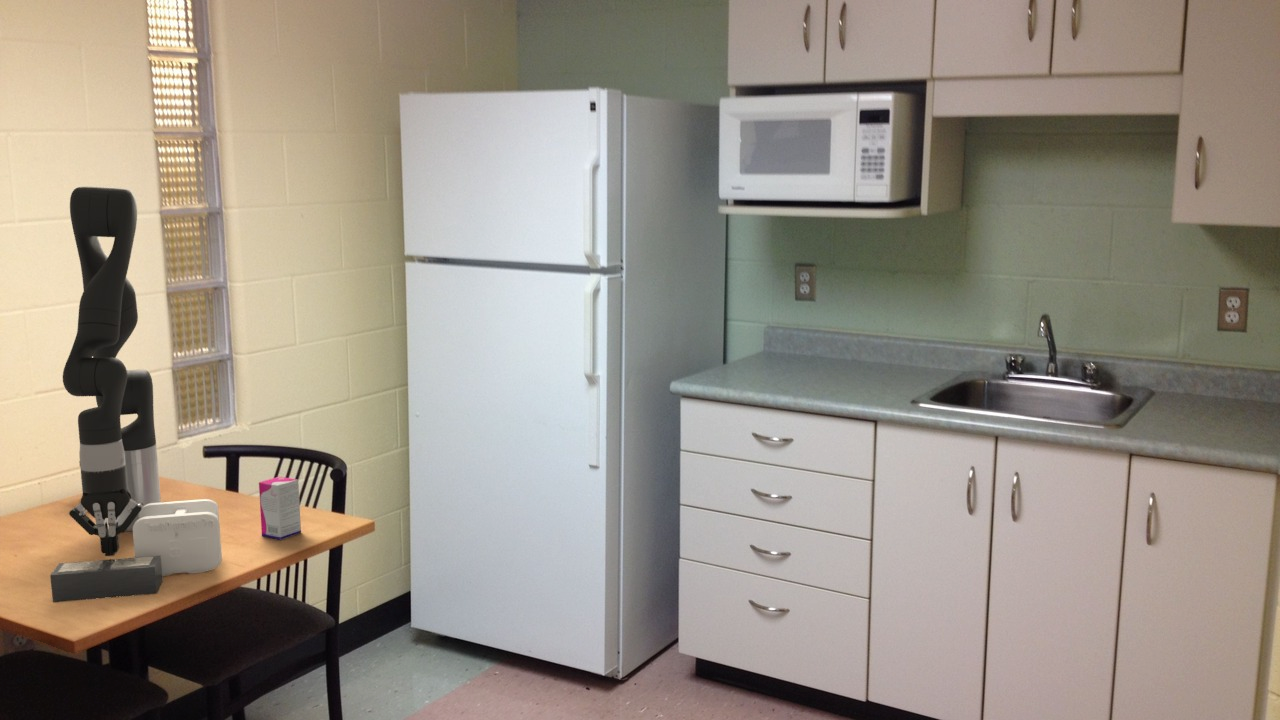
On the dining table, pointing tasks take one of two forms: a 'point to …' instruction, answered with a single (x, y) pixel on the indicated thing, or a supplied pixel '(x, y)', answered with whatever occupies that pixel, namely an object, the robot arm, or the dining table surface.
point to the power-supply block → (106, 578)
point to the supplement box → (280, 508)
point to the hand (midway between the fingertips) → (110, 554)
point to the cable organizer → (180, 535)
